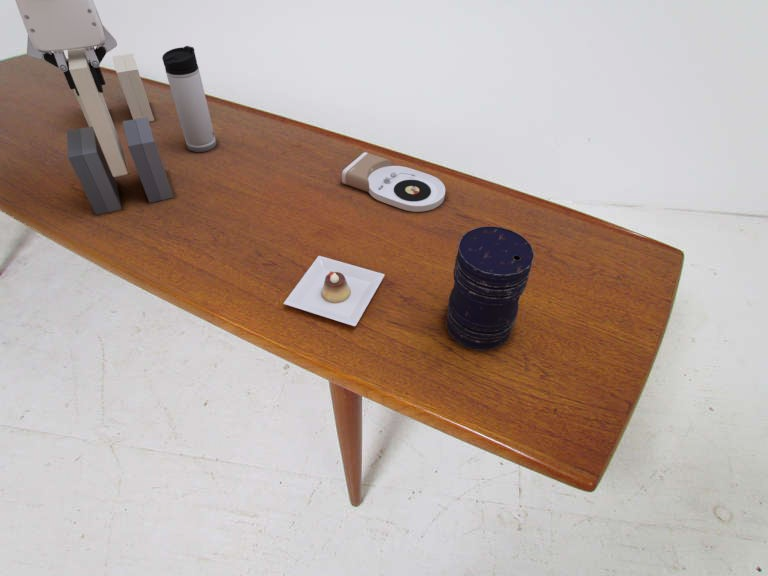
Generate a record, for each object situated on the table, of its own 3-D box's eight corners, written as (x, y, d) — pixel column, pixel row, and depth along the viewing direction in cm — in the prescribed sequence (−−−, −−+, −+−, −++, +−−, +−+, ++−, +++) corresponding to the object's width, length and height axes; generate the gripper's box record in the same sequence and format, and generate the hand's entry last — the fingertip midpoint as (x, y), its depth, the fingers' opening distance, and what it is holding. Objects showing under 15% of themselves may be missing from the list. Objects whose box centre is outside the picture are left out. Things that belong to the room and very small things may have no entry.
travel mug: (223, 142, 111) (202, 49, 97) (202, 155, 107) (176, 60, 93) (203, 135, 114) (179, 42, 99) (181, 147, 110) (153, 53, 95)
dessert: (319, 260, 84) (317, 238, 81) (385, 279, 81) (385, 257, 78) (283, 308, 76) (279, 286, 73) (355, 331, 73) (354, 309, 70)
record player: (368, 148, 105) (455, 176, 98) (368, 161, 107) (453, 189, 100) (338, 174, 98) (430, 206, 91) (338, 187, 100) (428, 219, 93)
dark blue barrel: (433, 331, 74) (443, 255, 63) (463, 292, 80) (478, 217, 69) (494, 362, 70) (517, 286, 59) (521, 319, 76) (546, 243, 65)
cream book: (113, 177, 89) (68, 69, 75) (108, 150, 95) (67, 46, 82) (128, 174, 90) (87, 67, 76) (122, 148, 96) (83, 44, 83)
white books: (91, 131, 114) (68, 79, 105) (88, 113, 120) (67, 62, 111) (154, 120, 118) (137, 69, 110) (148, 103, 124) (132, 53, 116)
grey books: (96, 215, 92) (68, 157, 83) (92, 187, 98) (66, 130, 90) (173, 197, 96) (154, 141, 88) (165, 172, 103) (147, 116, 94)
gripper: (100, -48, 75) (138, 75, 88) (-26, -41, 70) (35, 89, 83) (104, -36, 70) (144, 92, 83) (-31, -27, 65) (35, 108, 78)
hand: (89, 90), depth 83 cm, fingers closed on cream book, 2 cm apart
